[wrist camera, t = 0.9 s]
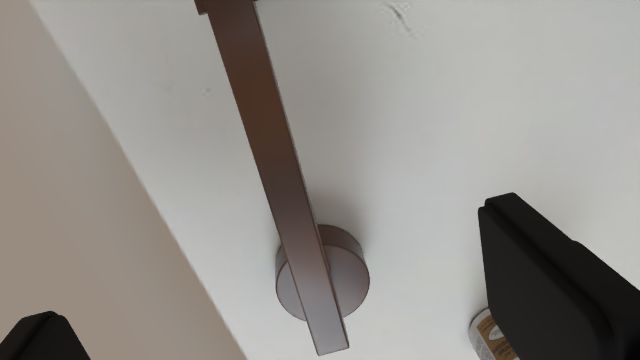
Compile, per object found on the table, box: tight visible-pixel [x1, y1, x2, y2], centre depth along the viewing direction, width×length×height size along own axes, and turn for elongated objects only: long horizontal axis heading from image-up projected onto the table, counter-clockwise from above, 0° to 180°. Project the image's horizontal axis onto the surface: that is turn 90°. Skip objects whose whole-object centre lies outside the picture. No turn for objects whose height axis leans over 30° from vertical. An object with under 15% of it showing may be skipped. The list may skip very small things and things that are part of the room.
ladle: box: [194, 0, 370, 356], centre depth 22 cm, size 20×6×8 cm, turn 14°
